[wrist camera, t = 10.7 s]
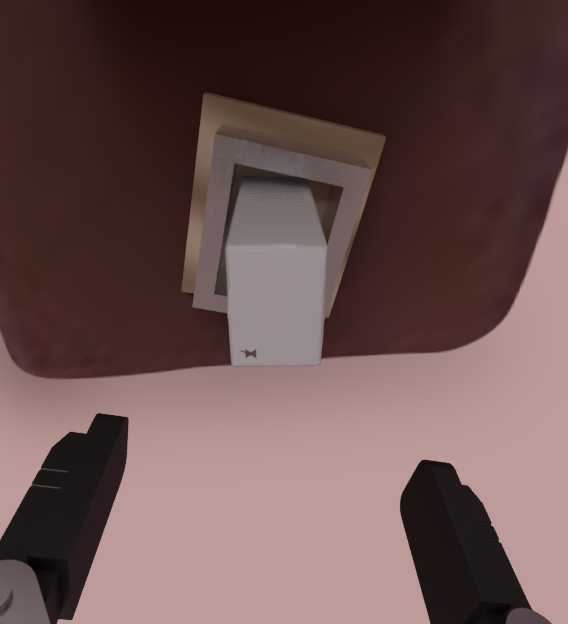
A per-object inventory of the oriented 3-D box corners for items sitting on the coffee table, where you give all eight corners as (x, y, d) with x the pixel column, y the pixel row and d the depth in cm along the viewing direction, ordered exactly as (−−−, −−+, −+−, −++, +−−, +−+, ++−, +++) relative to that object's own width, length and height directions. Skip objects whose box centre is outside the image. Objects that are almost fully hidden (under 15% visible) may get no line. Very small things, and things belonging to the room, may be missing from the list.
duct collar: (222, 123, 25) (214, 133, 22) (359, 154, 26) (372, 169, 23) (201, 278, 30) (192, 307, 27) (316, 299, 32) (321, 329, 28)
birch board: (206, 92, 26) (203, 93, 24) (382, 134, 27) (386, 137, 26) (184, 283, 32) (181, 291, 31) (327, 309, 33) (328, 317, 32)
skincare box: (305, 262, 30) (321, 370, 20) (244, 261, 30) (228, 370, 20) (309, 172, 27) (331, 246, 17) (240, 172, 27) (220, 245, 16)
